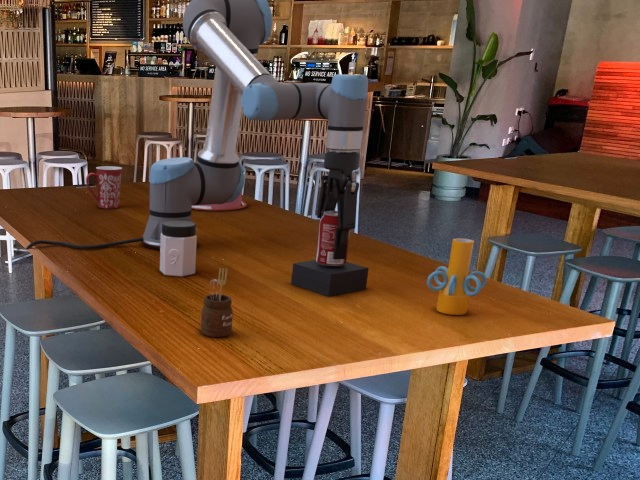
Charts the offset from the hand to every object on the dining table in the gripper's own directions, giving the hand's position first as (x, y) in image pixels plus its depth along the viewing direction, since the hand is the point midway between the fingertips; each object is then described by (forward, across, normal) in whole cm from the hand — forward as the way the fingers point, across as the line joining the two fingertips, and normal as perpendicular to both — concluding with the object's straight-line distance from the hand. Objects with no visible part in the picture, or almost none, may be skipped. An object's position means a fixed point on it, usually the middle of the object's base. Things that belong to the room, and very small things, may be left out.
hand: (331, 254), depth 180 cm
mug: (+7, +112, +32) cm, 117 cm away
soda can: (+3, 0, 0) cm, 3 cm away
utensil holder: (+8, -27, +36) cm, 46 cm away
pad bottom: (+8, 0, 0) cm, 8 cm away
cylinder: (+8, -23, -17) cm, 30 cm away
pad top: (+5, 0, 0) cm, 5 cm away
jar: (+8, +19, +31) cm, 37 cm away
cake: (+7, +110, -7) cm, 111 cm away
